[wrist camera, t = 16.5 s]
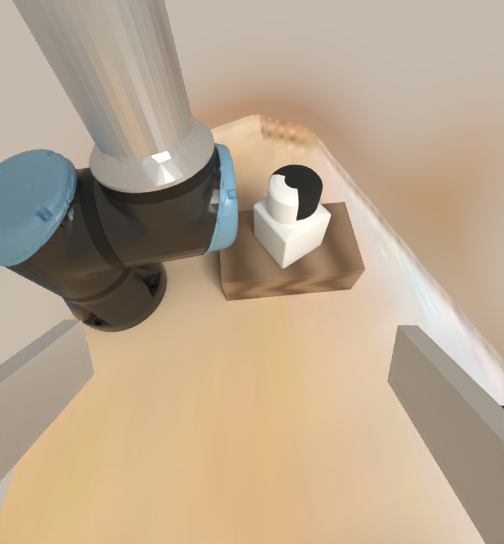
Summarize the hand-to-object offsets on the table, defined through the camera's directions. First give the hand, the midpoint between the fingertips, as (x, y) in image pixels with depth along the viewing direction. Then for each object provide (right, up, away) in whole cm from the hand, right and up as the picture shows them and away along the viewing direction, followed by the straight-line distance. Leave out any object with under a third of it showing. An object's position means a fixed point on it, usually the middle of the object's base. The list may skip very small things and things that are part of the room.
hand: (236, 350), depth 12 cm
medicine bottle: (+6, +8, +29) cm, 31 cm away
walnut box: (+6, +5, +35) cm, 36 cm away
